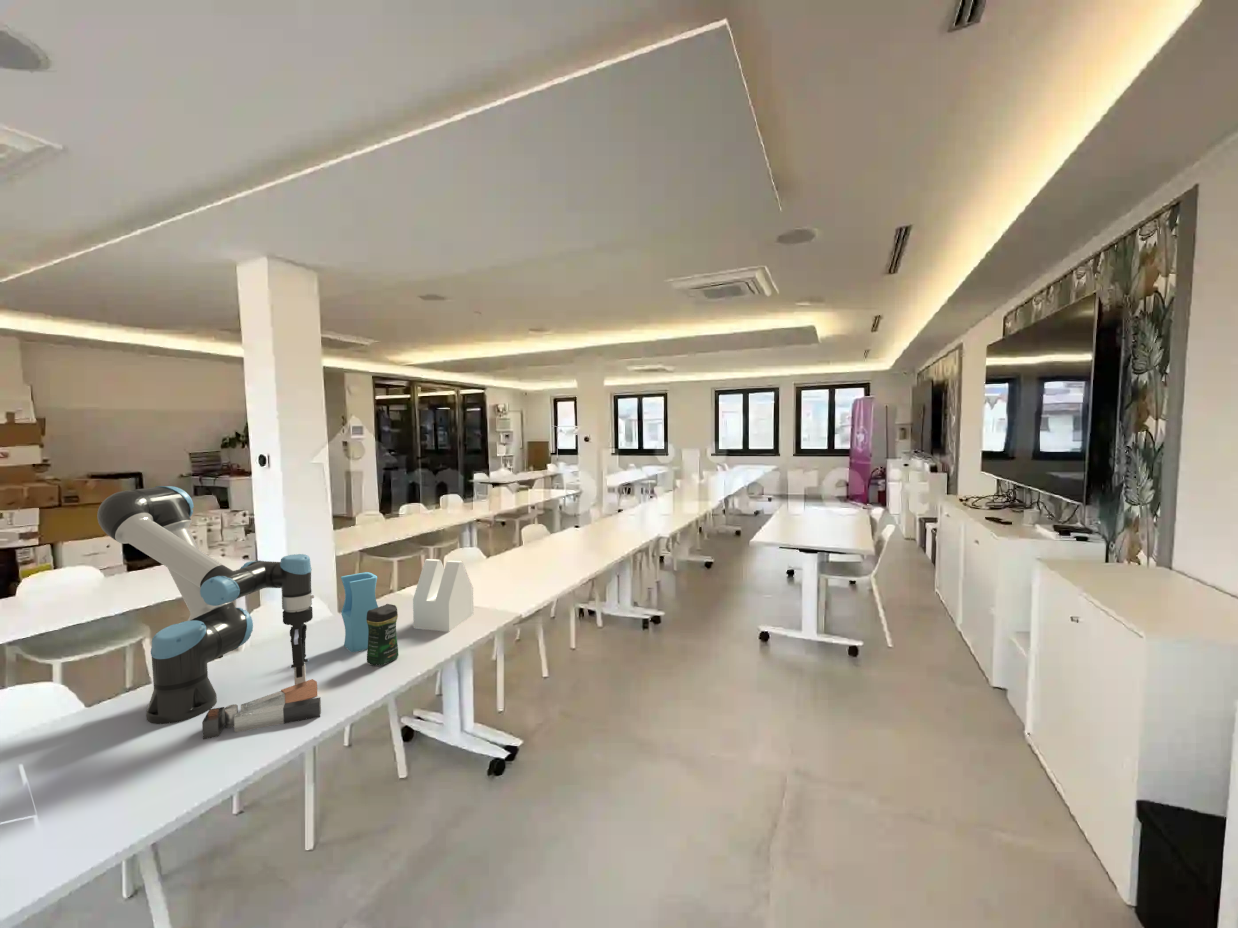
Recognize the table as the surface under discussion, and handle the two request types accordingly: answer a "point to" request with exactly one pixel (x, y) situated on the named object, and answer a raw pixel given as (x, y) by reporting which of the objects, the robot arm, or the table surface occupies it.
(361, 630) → the vase
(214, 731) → the tongs fixed
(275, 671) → the table surface
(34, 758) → the table surface
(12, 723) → the table surface
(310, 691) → the tongs arm
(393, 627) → the coffee jar
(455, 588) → the white slotted block
